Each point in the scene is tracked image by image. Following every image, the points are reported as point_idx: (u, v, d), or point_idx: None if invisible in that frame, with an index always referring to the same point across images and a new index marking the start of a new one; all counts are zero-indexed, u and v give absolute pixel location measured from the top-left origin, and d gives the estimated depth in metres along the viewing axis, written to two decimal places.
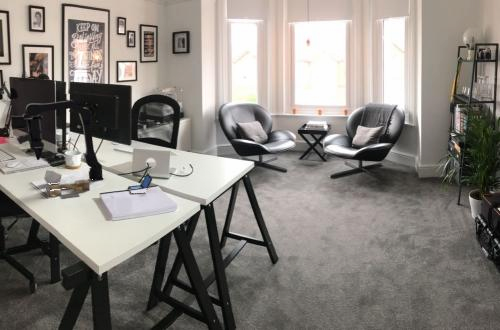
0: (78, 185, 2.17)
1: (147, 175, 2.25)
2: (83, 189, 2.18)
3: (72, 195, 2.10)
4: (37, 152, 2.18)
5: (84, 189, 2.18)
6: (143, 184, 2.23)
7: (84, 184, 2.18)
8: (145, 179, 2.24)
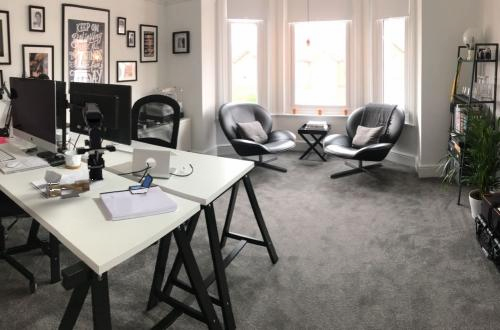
0: (78, 185, 2.17)
1: (148, 175, 2.25)
2: (83, 189, 2.18)
3: (72, 195, 2.10)
4: (93, 158, 2.20)
5: (84, 189, 2.18)
6: (144, 184, 2.23)
7: (84, 184, 2.18)
8: (146, 179, 2.25)
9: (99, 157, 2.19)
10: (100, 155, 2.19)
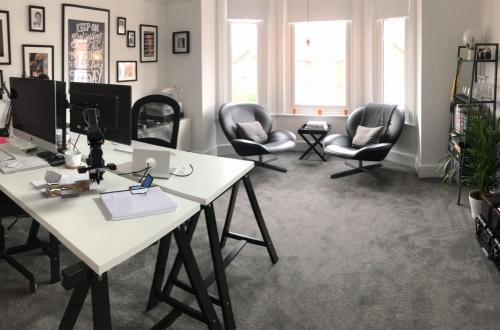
0: (78, 185, 2.17)
1: (148, 175, 2.25)
2: (83, 189, 2.18)
3: (72, 195, 2.10)
4: (94, 176, 2.23)
5: (84, 189, 2.18)
6: (144, 184, 2.24)
7: (84, 184, 2.18)
8: (146, 179, 2.25)
9: (100, 176, 2.22)
10: (101, 174, 2.21)
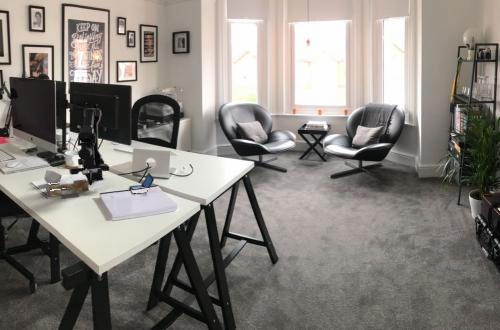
0: (77, 185, 2.16)
1: (148, 175, 2.25)
2: (82, 189, 2.18)
3: (72, 195, 2.10)
4: (87, 177, 2.21)
5: (83, 189, 2.18)
6: (144, 184, 2.24)
7: (83, 184, 2.18)
8: (146, 179, 2.25)
9: (92, 176, 2.20)
10: (93, 174, 2.19)
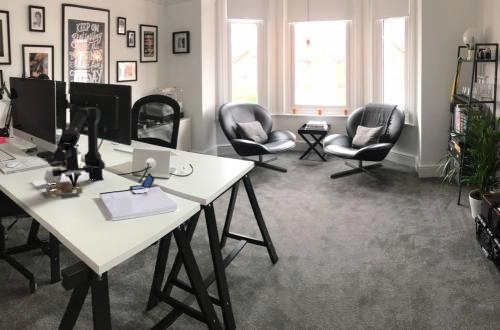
0: (60, 187, 2.12)
1: (149, 175, 2.25)
2: (65, 191, 2.14)
3: (72, 195, 2.10)
4: (70, 179, 2.17)
5: (66, 191, 2.14)
6: (145, 184, 2.24)
7: (66, 186, 2.14)
8: (147, 179, 2.25)
9: (76, 178, 2.16)
10: (77, 176, 2.16)
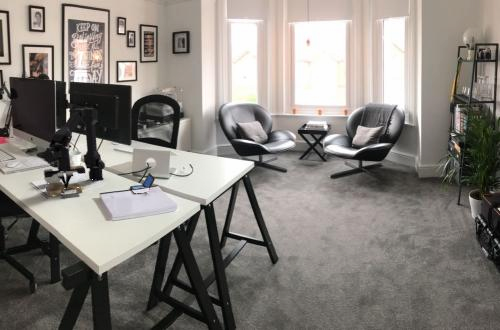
0: (52, 188, 2.11)
1: (149, 175, 2.25)
2: None
3: (72, 195, 2.10)
4: (62, 180, 2.15)
5: None
6: (145, 184, 2.24)
7: (58, 187, 2.12)
8: (147, 179, 2.25)
9: (68, 179, 2.14)
10: (69, 177, 2.14)
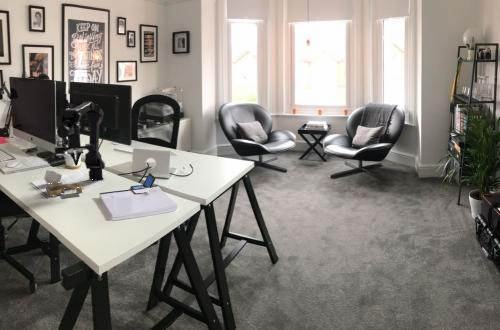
0: (52, 188, 2.11)
1: (149, 175, 2.25)
2: None
3: (72, 195, 2.10)
4: (72, 157, 2.16)
5: None
6: (146, 184, 2.24)
7: (58, 187, 2.12)
8: (147, 179, 2.25)
9: (78, 156, 2.15)
10: (79, 154, 2.15)
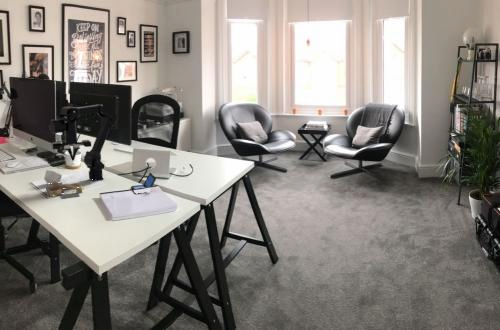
0: (52, 188, 2.11)
1: (150, 175, 2.25)
2: None
3: (72, 195, 2.10)
4: None
5: None
6: (146, 184, 2.24)
7: (58, 187, 2.12)
8: (148, 179, 2.25)
9: (74, 152, 2.24)
10: (75, 150, 2.24)
